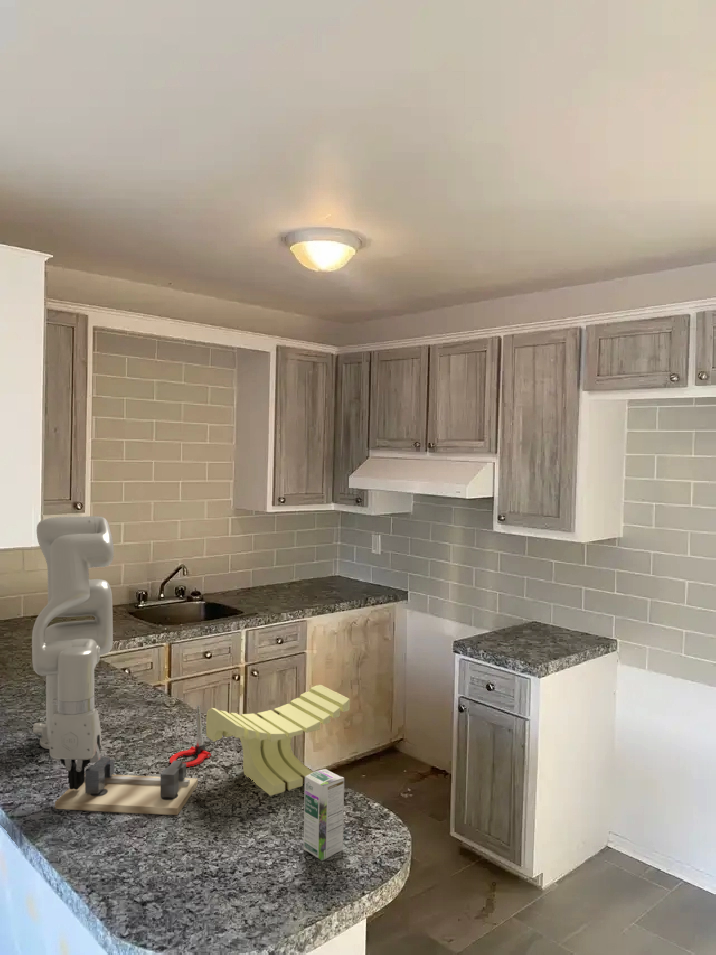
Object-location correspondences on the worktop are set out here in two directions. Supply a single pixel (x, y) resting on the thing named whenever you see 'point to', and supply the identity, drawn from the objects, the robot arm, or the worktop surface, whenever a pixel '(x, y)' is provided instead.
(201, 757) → the tow hook
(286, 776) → the slatted curved stool
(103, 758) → the leg
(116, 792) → the bolt plate
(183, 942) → the worktop surface
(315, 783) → the syrup box
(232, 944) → the worktop surface
